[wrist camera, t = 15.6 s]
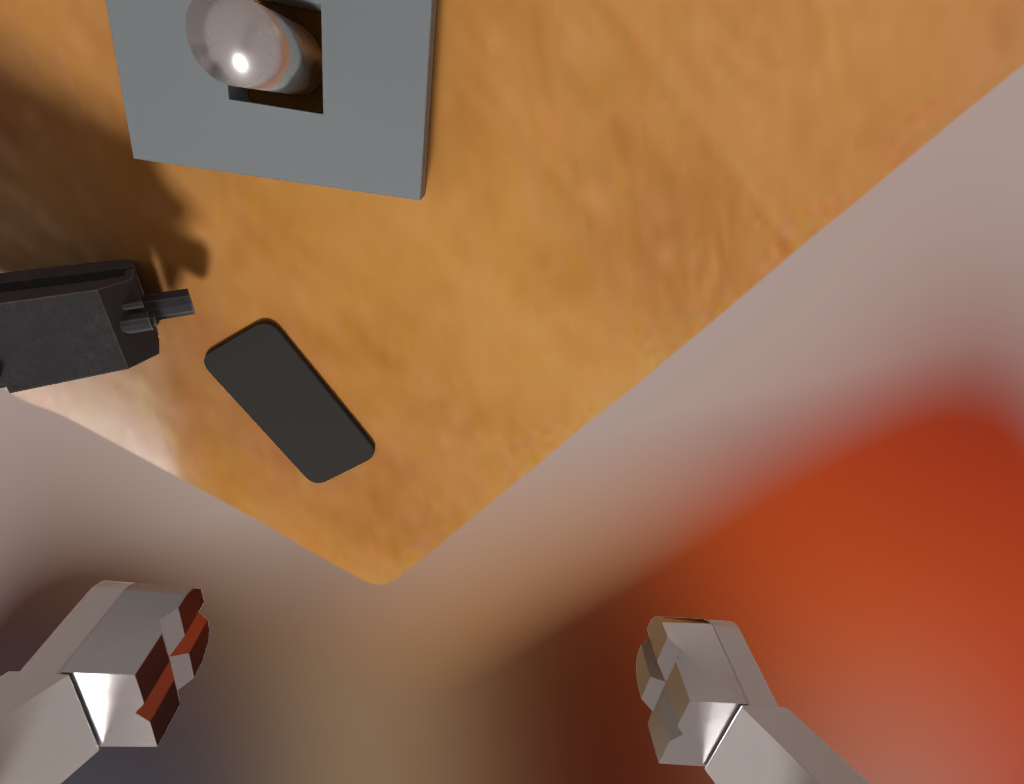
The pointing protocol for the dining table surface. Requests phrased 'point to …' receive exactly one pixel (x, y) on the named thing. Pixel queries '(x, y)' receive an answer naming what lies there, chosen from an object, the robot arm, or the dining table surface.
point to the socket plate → (281, 130)
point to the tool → (78, 322)
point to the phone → (289, 402)
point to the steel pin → (253, 46)
